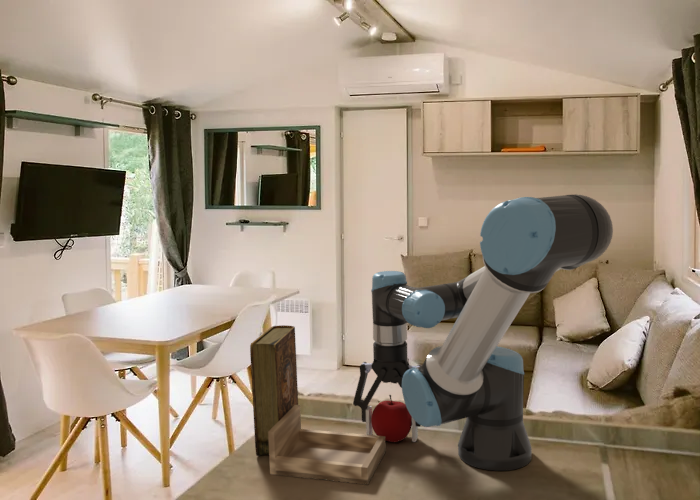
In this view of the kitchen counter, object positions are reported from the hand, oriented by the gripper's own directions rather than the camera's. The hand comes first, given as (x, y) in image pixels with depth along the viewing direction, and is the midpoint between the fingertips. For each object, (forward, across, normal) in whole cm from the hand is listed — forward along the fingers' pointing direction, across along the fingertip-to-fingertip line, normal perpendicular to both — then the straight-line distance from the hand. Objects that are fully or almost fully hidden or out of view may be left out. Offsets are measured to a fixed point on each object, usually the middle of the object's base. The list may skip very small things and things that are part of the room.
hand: (391, 437), depth 157 cm
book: (0, +24, +8) cm, 25 cm away
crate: (0, +10, +15) cm, 18 cm away
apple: (0, 0, 0) cm, 0 cm away
